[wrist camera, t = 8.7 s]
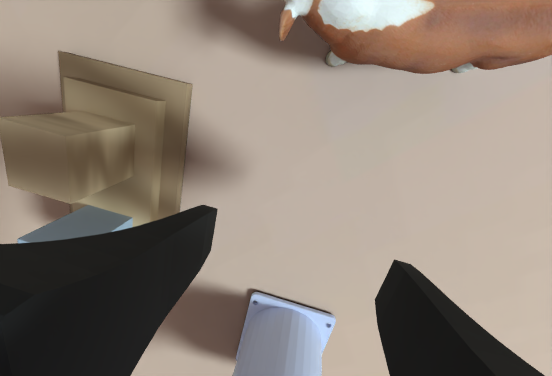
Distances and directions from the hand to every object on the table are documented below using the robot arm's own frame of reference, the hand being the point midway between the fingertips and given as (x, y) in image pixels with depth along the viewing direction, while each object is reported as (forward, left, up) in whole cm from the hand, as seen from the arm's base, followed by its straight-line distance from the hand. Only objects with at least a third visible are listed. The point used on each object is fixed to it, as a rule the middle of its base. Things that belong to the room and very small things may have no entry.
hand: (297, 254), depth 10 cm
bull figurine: (+10, -2, -11) cm, 15 cm away
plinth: (-5, +15, -10) cm, 19 cm away
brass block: (-1, +15, -8) cm, 17 cm away
